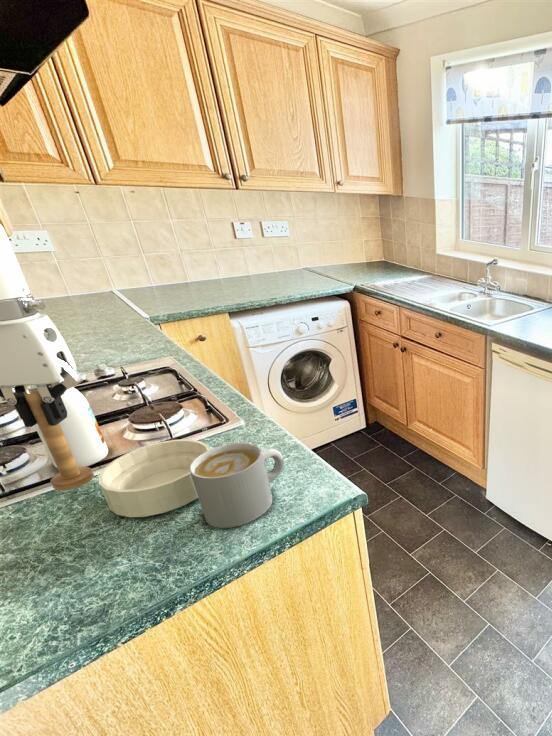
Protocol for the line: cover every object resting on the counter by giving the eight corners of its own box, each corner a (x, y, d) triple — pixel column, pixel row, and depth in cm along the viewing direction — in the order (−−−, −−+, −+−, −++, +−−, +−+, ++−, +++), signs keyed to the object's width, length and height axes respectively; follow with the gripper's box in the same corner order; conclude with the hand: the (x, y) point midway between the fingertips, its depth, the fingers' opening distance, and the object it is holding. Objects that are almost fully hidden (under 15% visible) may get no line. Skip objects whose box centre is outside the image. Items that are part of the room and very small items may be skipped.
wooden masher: (47, 483, 70) (3, 391, 63) (86, 468, 74) (49, 381, 67) (60, 494, 68) (16, 401, 61) (99, 478, 72) (62, 389, 65)
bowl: (94, 498, 72) (81, 470, 70) (191, 456, 84) (183, 431, 82) (137, 534, 66) (124, 504, 63) (235, 482, 78) (228, 456, 75)
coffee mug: (214, 537, 66) (198, 486, 62) (198, 505, 72) (182, 457, 68) (301, 499, 75) (292, 453, 71) (280, 474, 81) (271, 429, 77)
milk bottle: (106, 463, 81) (65, 368, 72) (50, 476, 77) (0, 377, 68) (112, 444, 86) (75, 354, 78) (60, 455, 82) (15, 361, 74)
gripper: (83, 302, 64) (121, 407, 72) (-55, 302, 60) (1, 414, 68) (50, 316, 58) (95, 430, 65) (-108, 316, 53) (-40, 438, 61)
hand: (47, 421), depth 66 cm, fingers closed on wooden masher
